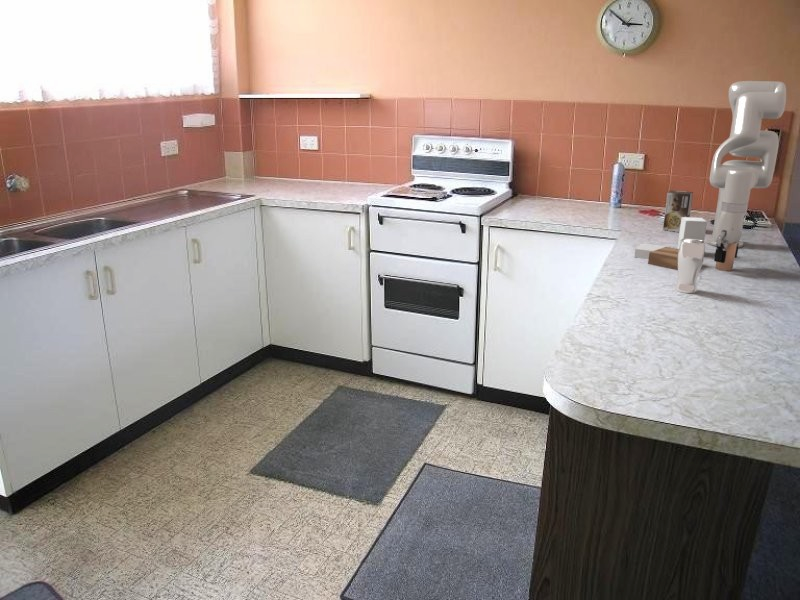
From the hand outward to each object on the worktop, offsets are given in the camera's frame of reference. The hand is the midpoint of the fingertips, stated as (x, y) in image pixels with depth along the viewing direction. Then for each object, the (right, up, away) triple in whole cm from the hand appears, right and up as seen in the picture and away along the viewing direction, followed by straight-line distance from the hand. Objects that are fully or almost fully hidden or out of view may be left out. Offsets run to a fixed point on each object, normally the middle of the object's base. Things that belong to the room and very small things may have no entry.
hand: (725, 259), depth 219 cm
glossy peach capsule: (0, -3, +1) cm, 3 cm away
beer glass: (-22, -11, -22) cm, 33 cm away
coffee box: (+7, +15, +58) cm, 60 cm away
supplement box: (-3, +3, +21) cm, 21 cm away
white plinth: (-18, +2, +16) cm, 24 cm away
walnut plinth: (-15, -1, +6) cm, 16 cm away
